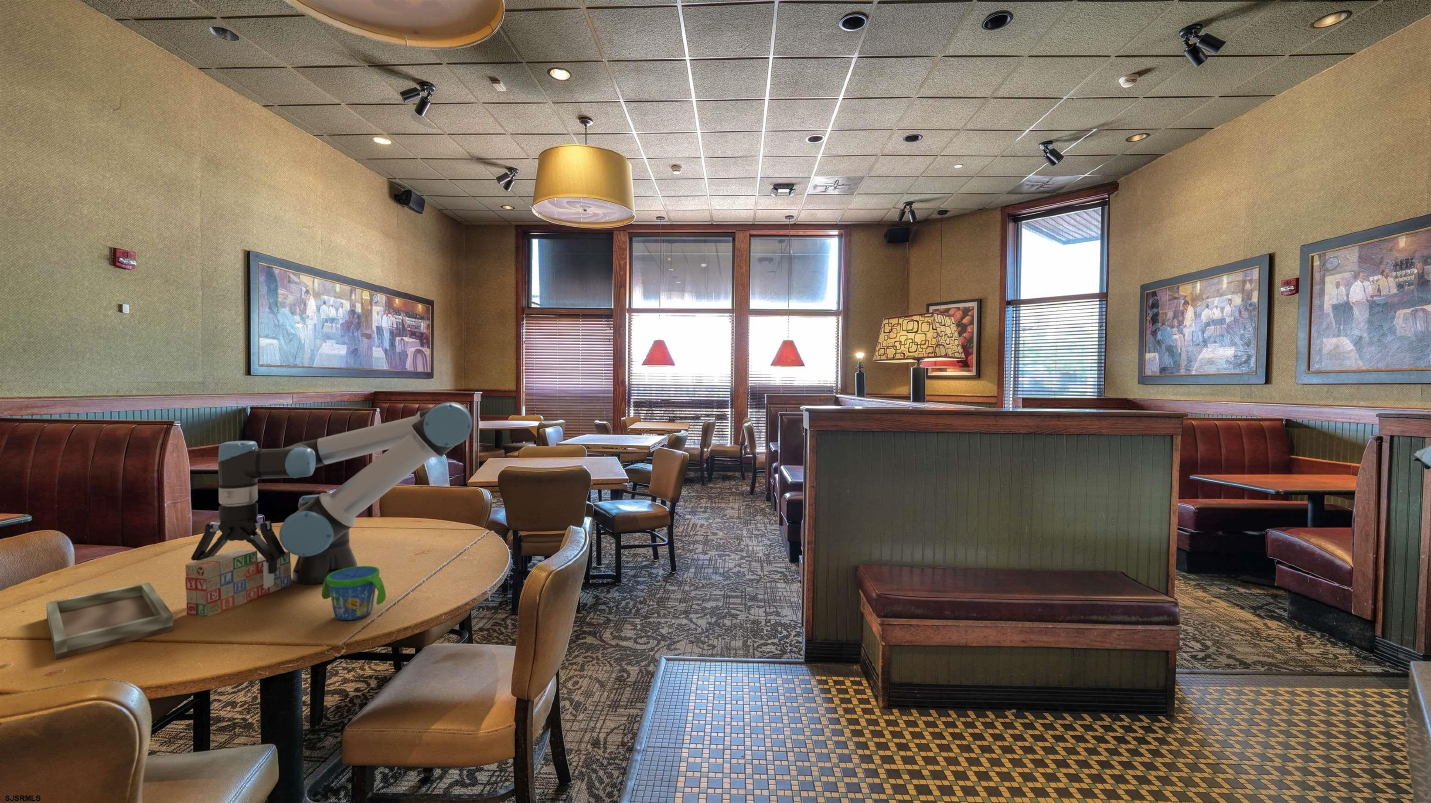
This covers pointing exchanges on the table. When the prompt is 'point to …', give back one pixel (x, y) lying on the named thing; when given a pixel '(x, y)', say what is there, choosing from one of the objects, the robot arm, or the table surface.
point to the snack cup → (353, 591)
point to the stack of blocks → (230, 580)
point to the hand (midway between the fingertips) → (239, 587)
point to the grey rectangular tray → (106, 619)
